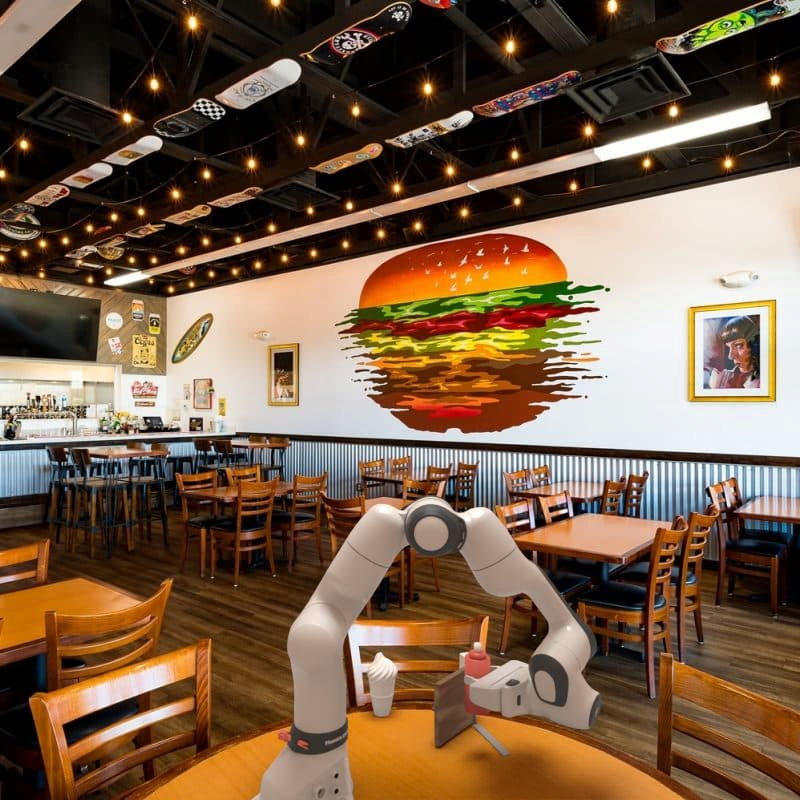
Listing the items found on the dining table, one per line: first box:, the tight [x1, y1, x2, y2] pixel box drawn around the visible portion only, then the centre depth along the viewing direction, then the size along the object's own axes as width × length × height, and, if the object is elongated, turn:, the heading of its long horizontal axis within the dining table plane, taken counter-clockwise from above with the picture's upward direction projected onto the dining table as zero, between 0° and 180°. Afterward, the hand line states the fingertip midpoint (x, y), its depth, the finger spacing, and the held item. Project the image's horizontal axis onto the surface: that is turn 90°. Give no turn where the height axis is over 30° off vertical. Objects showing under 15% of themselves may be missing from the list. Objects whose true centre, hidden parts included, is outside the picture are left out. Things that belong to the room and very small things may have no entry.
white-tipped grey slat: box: [459, 651, 512, 757], centre depth 153 cm, size 2×22×16 cm, turn 21°
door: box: [431, 666, 473, 747], centre depth 152 cm, size 3×15×14 cm, turn 141°
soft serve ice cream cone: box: [366, 652, 398, 718], centre depth 163 cm, size 8×8×16 cm
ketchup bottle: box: [464, 641, 491, 716], centre depth 143 cm, size 6×6×15 cm
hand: (474, 673), depth 144 cm, fingers closed on ketchup bottle, 6 cm apart
